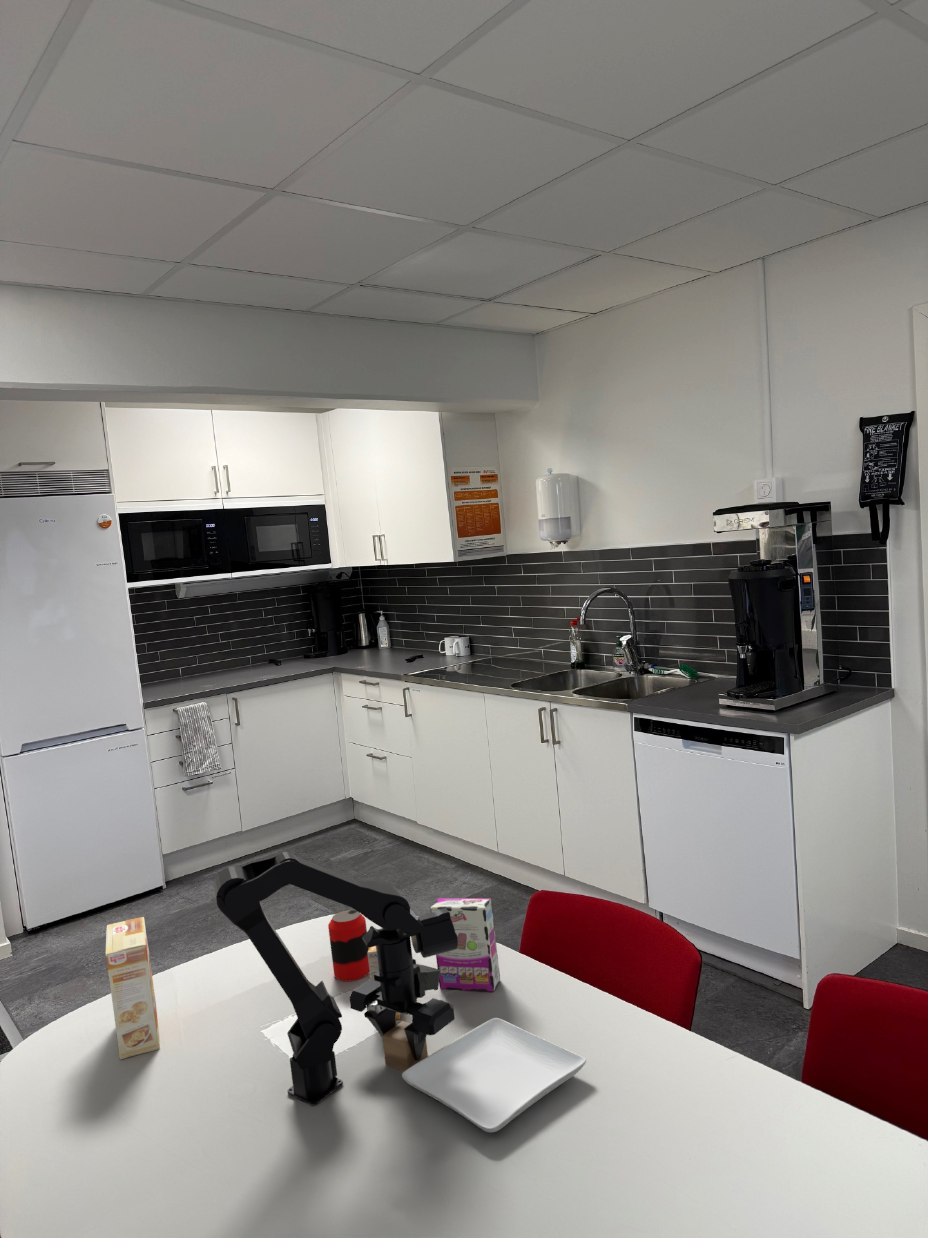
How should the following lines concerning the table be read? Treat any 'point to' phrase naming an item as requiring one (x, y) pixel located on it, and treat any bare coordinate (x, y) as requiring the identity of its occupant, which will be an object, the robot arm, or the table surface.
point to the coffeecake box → (132, 987)
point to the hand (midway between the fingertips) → (406, 1055)
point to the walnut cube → (400, 1048)
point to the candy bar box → (469, 946)
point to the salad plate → (493, 1073)
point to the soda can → (348, 945)
